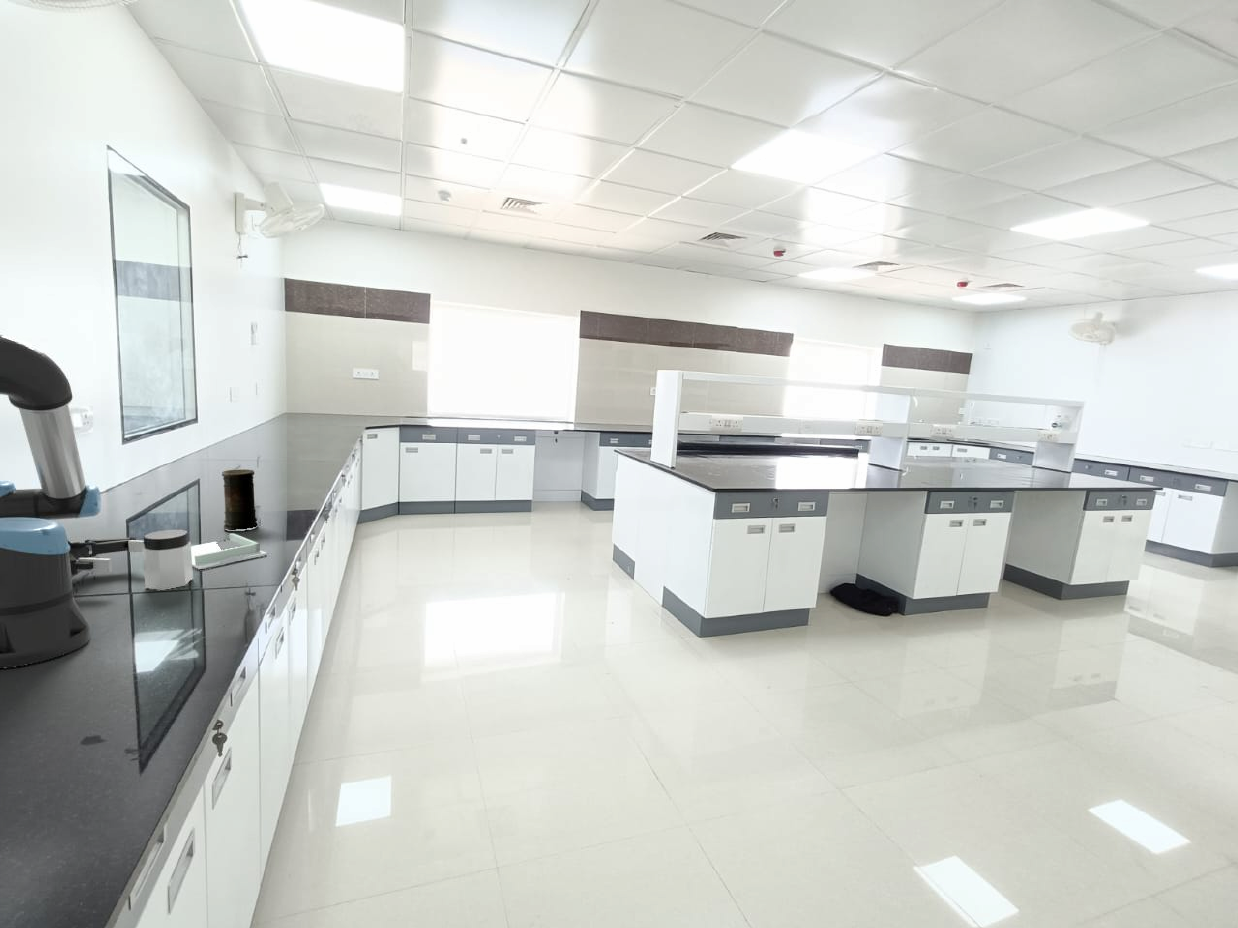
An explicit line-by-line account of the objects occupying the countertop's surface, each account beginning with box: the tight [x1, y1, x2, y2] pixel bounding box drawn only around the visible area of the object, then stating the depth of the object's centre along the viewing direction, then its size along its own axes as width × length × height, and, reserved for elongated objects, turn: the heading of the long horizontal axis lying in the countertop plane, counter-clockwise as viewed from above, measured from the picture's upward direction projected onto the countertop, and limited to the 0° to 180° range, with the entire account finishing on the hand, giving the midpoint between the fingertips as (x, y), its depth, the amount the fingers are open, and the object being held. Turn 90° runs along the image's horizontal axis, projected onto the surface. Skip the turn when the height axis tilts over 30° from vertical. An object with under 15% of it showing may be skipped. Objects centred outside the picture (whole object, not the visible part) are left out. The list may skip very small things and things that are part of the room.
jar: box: [142, 529, 194, 591], centre depth 136 cm, size 9×8×12 cm
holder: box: [191, 532, 268, 569], centre depth 159 cm, size 20×16×3 cm
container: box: [221, 468, 259, 530], centre depth 182 cm, size 9×9×18 cm
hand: (135, 555), depth 137 cm, fingers open, 13 cm apart
